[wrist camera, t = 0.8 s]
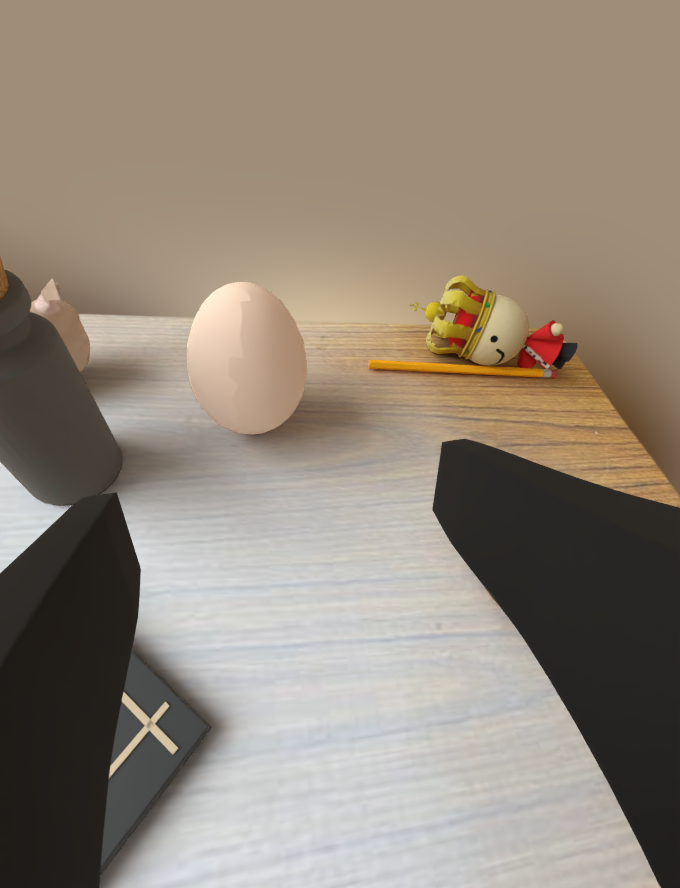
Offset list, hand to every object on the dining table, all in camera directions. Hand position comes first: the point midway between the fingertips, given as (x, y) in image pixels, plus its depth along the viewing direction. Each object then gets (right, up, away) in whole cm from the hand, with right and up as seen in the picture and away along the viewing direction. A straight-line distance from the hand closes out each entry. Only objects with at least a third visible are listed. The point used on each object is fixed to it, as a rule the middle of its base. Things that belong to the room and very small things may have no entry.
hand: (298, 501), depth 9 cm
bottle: (-17, -1, +19) cm, 25 cm away
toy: (+22, +9, +27) cm, 36 cm away
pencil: (+13, +8, +29) cm, 33 cm away
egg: (-6, +3, +23) cm, 24 cm away
